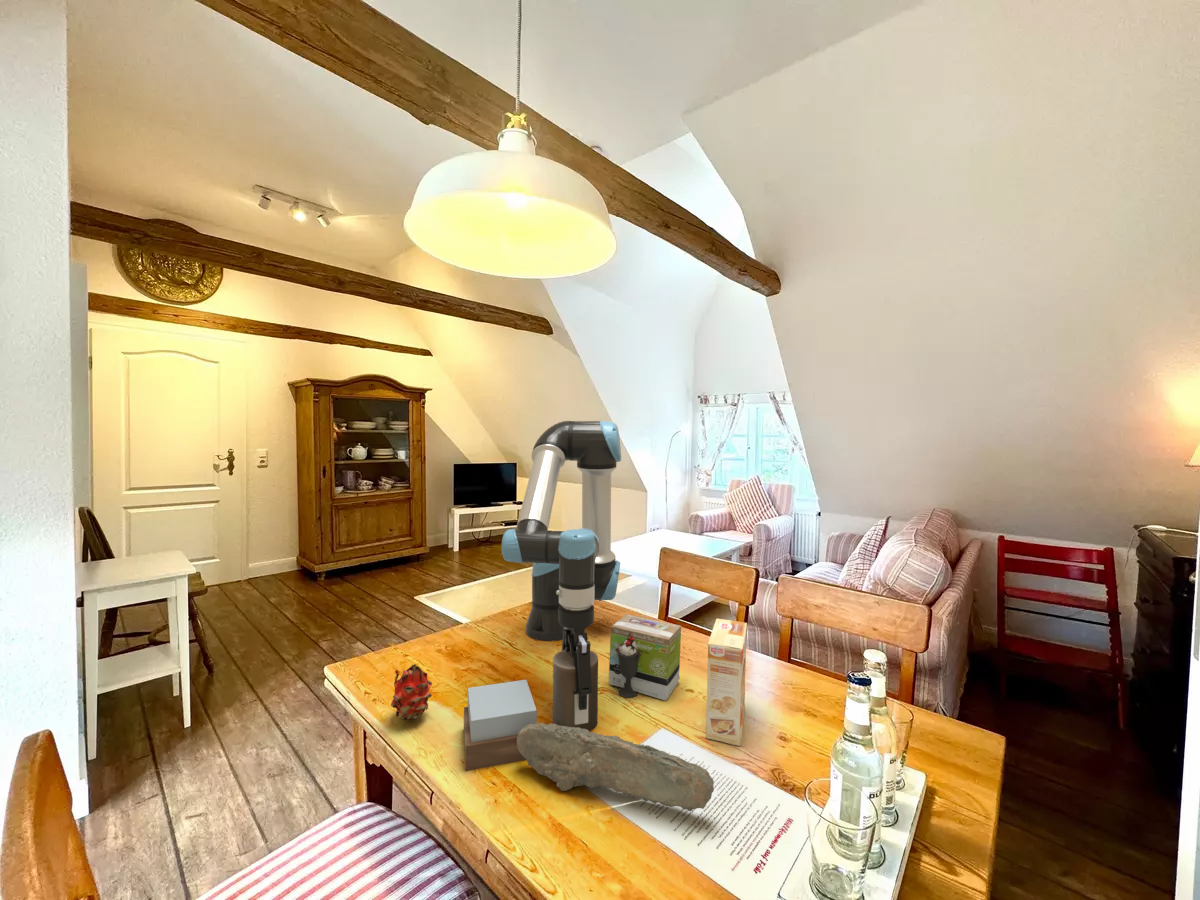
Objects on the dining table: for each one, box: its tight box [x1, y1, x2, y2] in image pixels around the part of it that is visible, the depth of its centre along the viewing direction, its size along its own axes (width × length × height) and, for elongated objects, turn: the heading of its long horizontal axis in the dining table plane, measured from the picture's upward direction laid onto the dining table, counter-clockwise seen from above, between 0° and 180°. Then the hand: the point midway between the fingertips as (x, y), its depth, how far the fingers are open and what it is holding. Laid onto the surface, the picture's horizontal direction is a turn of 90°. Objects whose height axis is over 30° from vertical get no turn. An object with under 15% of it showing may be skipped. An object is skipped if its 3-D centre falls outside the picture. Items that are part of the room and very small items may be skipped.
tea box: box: [608, 613, 682, 702], centre depth 118 cm, size 15×10×15 cm, turn 64°
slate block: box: [467, 679, 538, 742], centre depth 96 cm, size 12×12×4 cm
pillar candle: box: [552, 649, 599, 732], centre depth 103 cm, size 10×10×15 cm
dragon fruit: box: [390, 663, 433, 721], centre depth 103 cm, size 8×8×12 cm
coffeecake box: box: [705, 618, 748, 747], centre depth 103 cm, size 15×7×20 cm, turn 160°
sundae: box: [615, 632, 642, 699], centre depth 115 cm, size 7×7×15 cm
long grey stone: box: [517, 722, 715, 813], centre depth 82 cm, size 35×5×10 cm, turn 72°
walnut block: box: [463, 706, 527, 772], centre depth 96 cm, size 13×13×5 cm
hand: (575, 708), depth 103 cm, fingers closed on pillar candle, 10 cm apart
